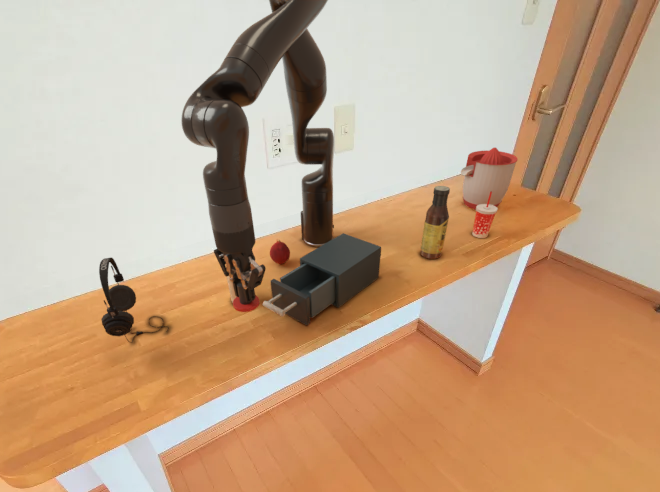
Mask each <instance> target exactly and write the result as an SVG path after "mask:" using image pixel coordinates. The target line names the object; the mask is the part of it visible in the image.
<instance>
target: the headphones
mask: <svg viewBox="0 0 660 492" xmlns="http://www.w3.org/2000/svg"><path fill="white" fill-rule="evenodd" d="M110 264H111V265H110ZM109 267H110V268H111V270H112V272H113V280H114V282H115V283H117V284H116V285H113V286H112V287H110V285H109V269H110V268H109ZM115 272H116V273H115ZM98 275H99V280H100V285H101V288H102V291H103V293H104V296H105V299H106V300H105V299H104V300H103V303H104V305H105V306H106V313H105V314H103V316H102V317H101V325H102V327H103V329H104V330H105V331H104V332H105V333H106V334H108V335H110V336H111V337H123V336H124V337H125V339H126V340H127V342H128V343H129V344H132V343H133V342H134V338H135V337H136V336H139V335H142V334H144V333H146V334H153V333H157V332H159V331H161V329H163V328H167V330H166V332H165V333H167V332H168V331H169V329H170V327H169V326H164V324H162V325H161V326H160V328H159V330H156V331H151V332H148V331H134V332H133V334H135V335H134V336H133V337H132V341H129V339H128V338H127V334H130V333H131V331H132V330H133V325H134V324H135V318H134V316H133V314H131V313H129V312H128V311H129V310H131V309H132V308H134V306H135V305H136V303H137V296H136V292H135V291H134V290H133V288H131V287H130V286H128V285H126V284H120V283H122V282H124V281H125V278H124V276H123V273H121V272H120V269H119V266H118V265H117V262H116V260H115V259H114V258H113V257H111V256H110V257H106V258H105V257H104V258H102V260H101V261H100V262H99V267H98ZM151 318H157V316H155V315H154V316H151V317H150V319H151ZM159 318H160V319H161V321H164V319H163V318H162V317H160V316H159ZM148 325H149V326H150V327H153V328H155V326H154V325H151V323H148Z"/></svg>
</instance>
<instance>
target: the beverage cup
mask: <svg viewBox="0 0 660 492" xmlns="http://www.w3.org/2000/svg"><path fill="white" fill-rule="evenodd" d="M491 194H492V191H490V195H489V199H488V202H487V204H479V205H477V206H476V210H475V215H474V221H473V226H472V227H473V228H472V233H471V234H472V236H473V237H475V238H479V239H485V238H487V237H488V236H489V233H490V230H491V227H492V225H493V221H494V219H495V216H496V213H498V210H499V208H498V207H496V206H493V205H490V204H489V201H490V198H491Z"/></svg>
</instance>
